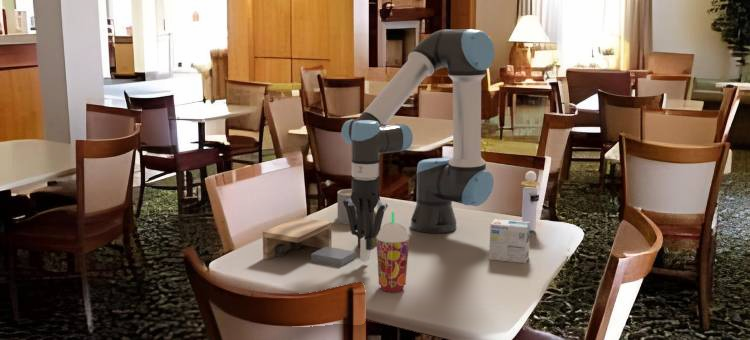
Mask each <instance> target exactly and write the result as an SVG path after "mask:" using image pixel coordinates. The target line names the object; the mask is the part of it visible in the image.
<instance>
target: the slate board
mask: <svg viewBox="0 0 750 340" xmlns="http://www.w3.org/2000/svg"><path fill="white" fill-rule="evenodd" d="M356 258H357V257H356V251H354V250H348V249H343V248H342V249H341V248H337V247H333V246H332V247H324V248H319V249H318V250H316V251H314V252H312V253H311V254H310V260H311V262H315V261H316V262H315V263H321V264H328V265H333V266H339V267H343V266H345V265H346V264H348V263H351V262H352V261H353V260H355V259H356Z"/></svg>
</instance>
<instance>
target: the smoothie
mask: <svg viewBox="0 0 750 340" xmlns="http://www.w3.org/2000/svg"><path fill="white" fill-rule="evenodd" d="M376 241H377V246H376V257H377V272H378V273H377V274H378V275H377V276H378V285H379V286H380V289H381V290H382V291H384V292H387V291H388V293H397V291H398V292H401V291H403V289H404V286H405V285H406V284H407V269H408V256H409V244H410V235H409V234H408V232H407V230H406V228H405V227H404V226H403V225H402V224H400V223H398V222H395V212H394V211H391V221H390V222H388V223H386V224H384V225H382V226H381V228H380V230H379V232H378V234H377V236H376Z"/></svg>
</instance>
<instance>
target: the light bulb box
mask: <svg viewBox="0 0 750 340" xmlns="http://www.w3.org/2000/svg"><path fill="white" fill-rule="evenodd" d="M489 227H490V228H489V255H488V256H489V258H488V260H490V261H491V260H492V261H500V262H510V263H519V264H526V263H527V261H528V260H529V256H530V238H531V237H530V236H531V235H530V234H531V233H530V232H531V231H530V222H523V221H522V220H509V219H508V220H507V219H497V218H494V219H493V221H492V222H491V223H490V226H489Z"/></svg>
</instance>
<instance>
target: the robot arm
mask: <svg viewBox="0 0 750 340" xmlns="http://www.w3.org/2000/svg"><path fill="white" fill-rule="evenodd" d="M495 53H496V52H495V45H494V42H493V40H492V38H491V36H489V34H487V33H486V32H485V31H483V30H479V29H471V28H470V29H449V28H447V29H444V28H443V29H440V30H437V31H434V32H433V33H430V35H428V36H427V37H425V38H423V40H421V41H420V42H419V43H418V44H417V45H416V46H415V47H413V49H412V50H411V51H410V53H409V54H408V55H407V61H406V62H405V63H404V64H403V65H402V67H400V69H399V70H398V71H397V72H396V73H395V74H394V76H393V77H392V78H391V80H390V81H388V82H387V84H386V85H385V86H384V87H383V89H382V90H380V92H379V93H378V94H377V96H376V97H375V98H374V99H373V100H372V101H371V102H370V103H369V105H368V106H367V107H366V108H365V110H364V111H362V113H361V114H360V115H359V116H358V117H357V118H356V119H355V118H352V119H349V120H346V121H345V122H344V123H343V124H342V127H341V136H342V137H341V138H342V139H343V141H344V142H345V143H347V144H348V145H351V177H352V178H351V189H352V194H351V198H349V199H347V200H345V201H343V204H344V206H345V208H346V210H347V215H348V219H349V224H348V225H349V228H350V233H351V235H353V236H356V237H357V247H358V249H360V252H359V253H360V259H359V261H360V262H362V263H366V262H367V261H369V260H370V257H371V255H370V254H371V253H370V250H372V249H373V248H372V238H374V237H376V236H377V234H378V232H379V230H380V229H381V228H382V224H383V218H384V214H385V211H386V210H387V209H388V204H387V203H384V202H382V201H381V198H380V197H381V196H380V195H379V191H380V179H379V176H380V155H382V154H389V153H396V152H398V153H399V152H402V151H405V150H408V149H410V148H411V146H412V144H413V137H414V136H413V135H414V134H413V131H412V130H411V128H410V127H409V126H408V125H406V124H404V123H403V124H402V123H395V124H389V123H388V122H390V121H391V119H392V118H393V116H395V114H396V113H397V112H398V110H400V108H401V107H402V106H403V105H404V104H405V103H406V101H407V100H408V99H409V97H411V95H412V94H413V93H414V92H415V91H416V89H417V88H418V87H419V86H420V84H422V82H423V81H424V80H425V79H426V77H430V76H432V75H433V74H434V73H435V72H436V71H437V70H440V69H443V68H446V69H447V76H448V77H449V78H450V79H451V80H452V130H453V131H452V137H453V138H452V141H453V143H452V144H453V145H452V147H453V148H452V149H453V150H452V151H453V152H452V155H453V156H452V157H451V158H450V157H438V158H437V157H436V158H427V159H422V160H420V161H418V163H417V167H416V169H417V170H416V202H415V203H416V204H415V207H414V211H413V213H412V215H411V216H412V217H411V219H410V228H411V229H413V231H417V232H420V233H427V234H428V233H429V234H445V233H450V232H453V231H456V229H457V217H456V215H455V212H454V208H453V204H452V202H454V203H458V204H462V205H464V206H472V207H478V206H481V205H483V204H484V203H486V202H487V200H488V199H489V197H490V196H491V194H492V193H493V189H494V183H495V181H494V175H492V173H491V172H490V171H489V170H487V162H486V160H485V159H483V157H482V80H483V78H485V76H486V75H487V70H488V69H489V68H491V66H492V65H493V62H494V59H495ZM353 204H354V205H355V206H356V213H355V208H354V205H353ZM375 208H376V210H377V211H376V216H375V221H374V225H373V213H374V211H375ZM356 214H357V218H356ZM364 235H365V236H364Z"/></svg>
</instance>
